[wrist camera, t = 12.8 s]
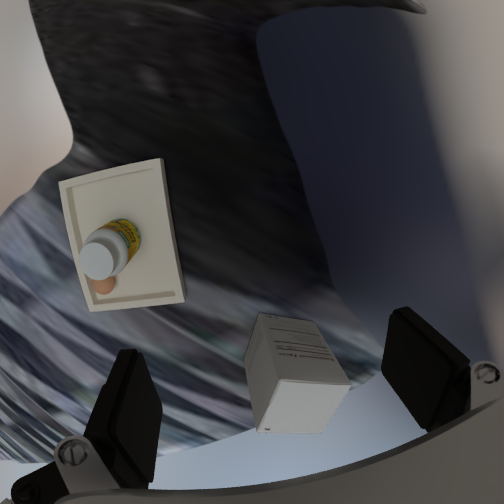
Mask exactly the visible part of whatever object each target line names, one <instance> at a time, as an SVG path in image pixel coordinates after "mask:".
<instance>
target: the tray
mask: <svg viewBox="0 0 504 504" xmlns="http://www.w3.org/2000/svg"><path fill="white" fill-rule="evenodd" d="M59 188H60V195H61V201H62V206H63V212H64V217H65V222H66V227H67V232H68V236H69V241H70V245H71V249H72V253H73V257H74V261H75V265H76V268H77V272H78V275H79V279H80V282H81V286H82V289H83V292H84V295H85V298H86V302H87V305H88V308H89V310H90V312H94V311H106V310H116V309H127V308H136V307H146V306H155V305H164V304H172V303H181V302H185V298H186V290H185V285H184V280H183V275H182V270H181V265H180V260H179V254H178V249H177V243H176V238H175V232H174V226H173V220H172V214H171V208H170V201H169V195H168V188H167V180H166V173H165V165H164V159H163V158H158V159H152V160H147V161H142V162H137V163H133V164H128V165H123V166H119V167H115V168H110V169H106V170H102V171H98V172H94V173H90V174H86V175H82V176H79V177H75V178H71V179H68V180H64V181H61V182H59ZM118 218H125V219H128V220H130V221H132V222H133V223H134V224H135V225H136V226H137V227H138V229H139V231H140V234H141V245H140V248H139V250H138V251H137V253H136V254H135V255H134V257H133V258H132V259H131V260H130V261H129V263H128V264H127V265H126V267H125V268H124V269H123V270H122V271H121V272H120V273H118V274H117V275H114V276H113V277H114V280H115V285H114V288H113V290H112V291H111V292H110V293H109V294H106V295H101V294H99V293H97V292H96V291H95V290H94V289H93V286H92V279H91V278H89V277H88V276H87V275H86V274H85V273H84V272H83V270H82V269H81V267H80V263H79V254H80V251H81V249H82V248H83V247H84V243H85V241H86V239H87V237H88V236H89V235H90V234H91V233H92V232H94V231H95V230H97V229H98V228H100V227H102V226H103V225H105V224H107V223H108V222H110V221H112V220H114V219H118Z"/></svg>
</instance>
